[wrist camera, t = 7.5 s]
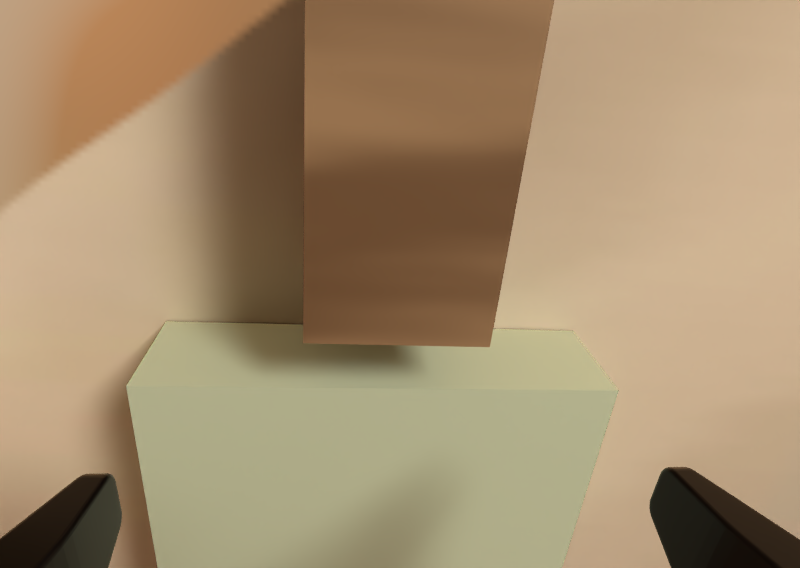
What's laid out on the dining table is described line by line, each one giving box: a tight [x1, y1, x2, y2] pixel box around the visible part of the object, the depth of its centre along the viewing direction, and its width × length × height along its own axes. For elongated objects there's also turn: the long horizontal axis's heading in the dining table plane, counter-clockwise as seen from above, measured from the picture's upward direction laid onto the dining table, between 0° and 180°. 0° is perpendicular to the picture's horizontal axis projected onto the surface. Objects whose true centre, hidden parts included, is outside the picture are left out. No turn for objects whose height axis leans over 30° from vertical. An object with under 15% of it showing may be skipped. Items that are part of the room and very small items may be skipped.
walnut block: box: [303, 0, 554, 347], centre depth 11 cm, size 4×4×9 cm
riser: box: [126, 321, 619, 568], centre depth 16 cm, size 10×12×3 cm
